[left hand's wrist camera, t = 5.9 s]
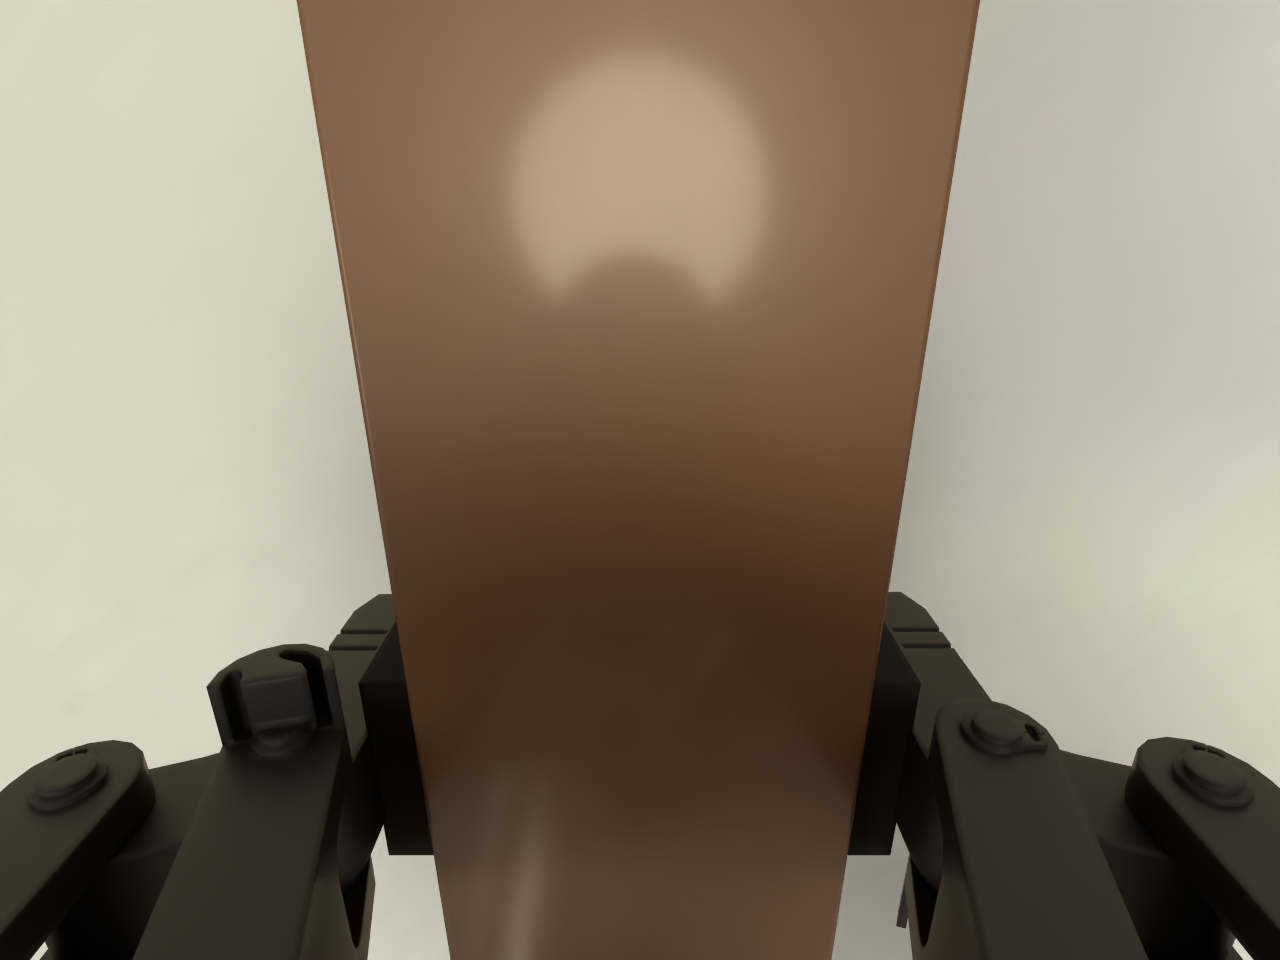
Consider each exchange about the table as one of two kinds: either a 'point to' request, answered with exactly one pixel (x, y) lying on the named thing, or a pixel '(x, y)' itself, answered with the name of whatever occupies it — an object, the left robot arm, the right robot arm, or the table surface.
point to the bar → (639, 434)
